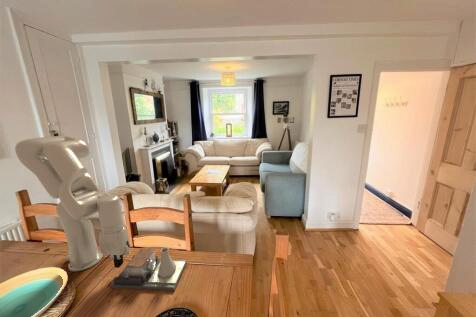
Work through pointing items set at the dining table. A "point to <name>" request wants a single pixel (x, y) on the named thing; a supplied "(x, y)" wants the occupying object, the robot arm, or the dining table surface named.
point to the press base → (151, 278)
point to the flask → (166, 264)
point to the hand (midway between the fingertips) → (119, 265)
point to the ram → (141, 263)
